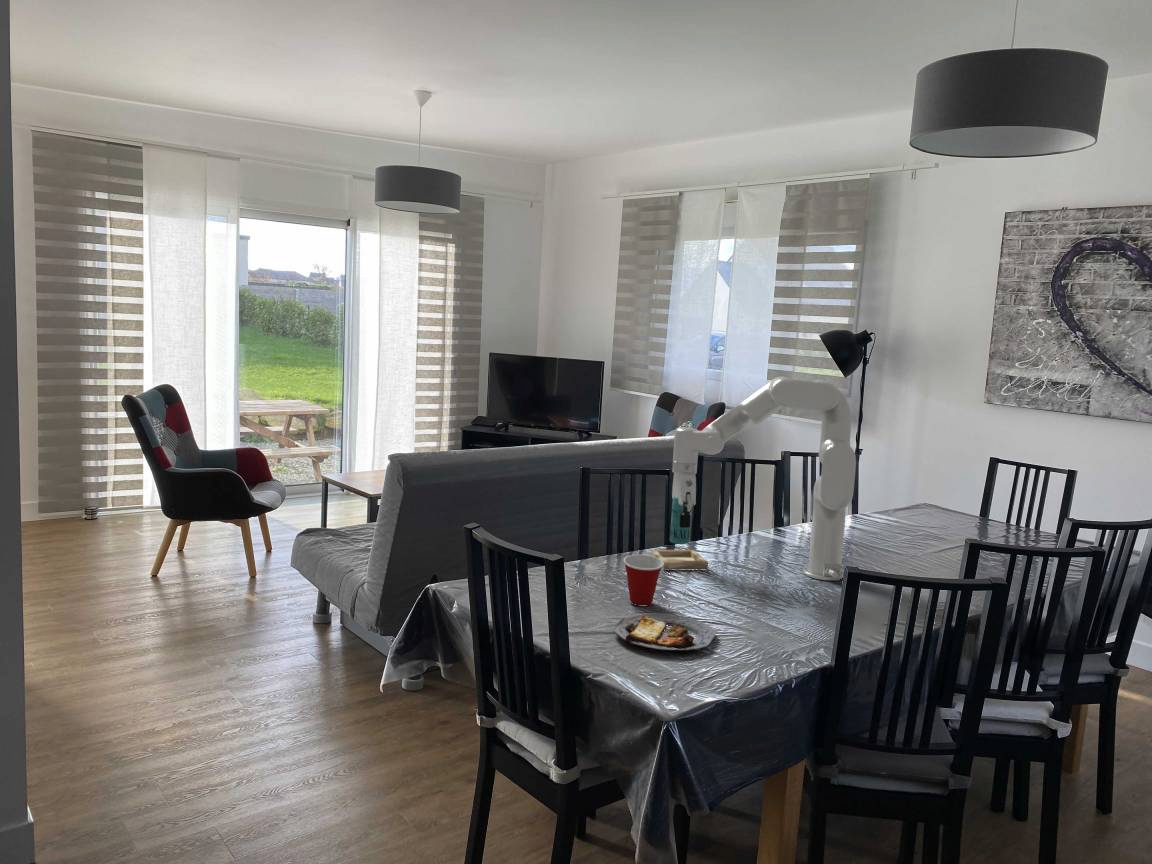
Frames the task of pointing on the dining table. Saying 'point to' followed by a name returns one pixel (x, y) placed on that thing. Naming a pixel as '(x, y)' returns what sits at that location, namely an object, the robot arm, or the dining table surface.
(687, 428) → the robot arm
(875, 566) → the dining table surface
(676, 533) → the beverage bottle
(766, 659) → the dining table surface
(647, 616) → the food plate
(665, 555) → the tray
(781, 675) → the dining table surface
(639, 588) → the plastic cup
